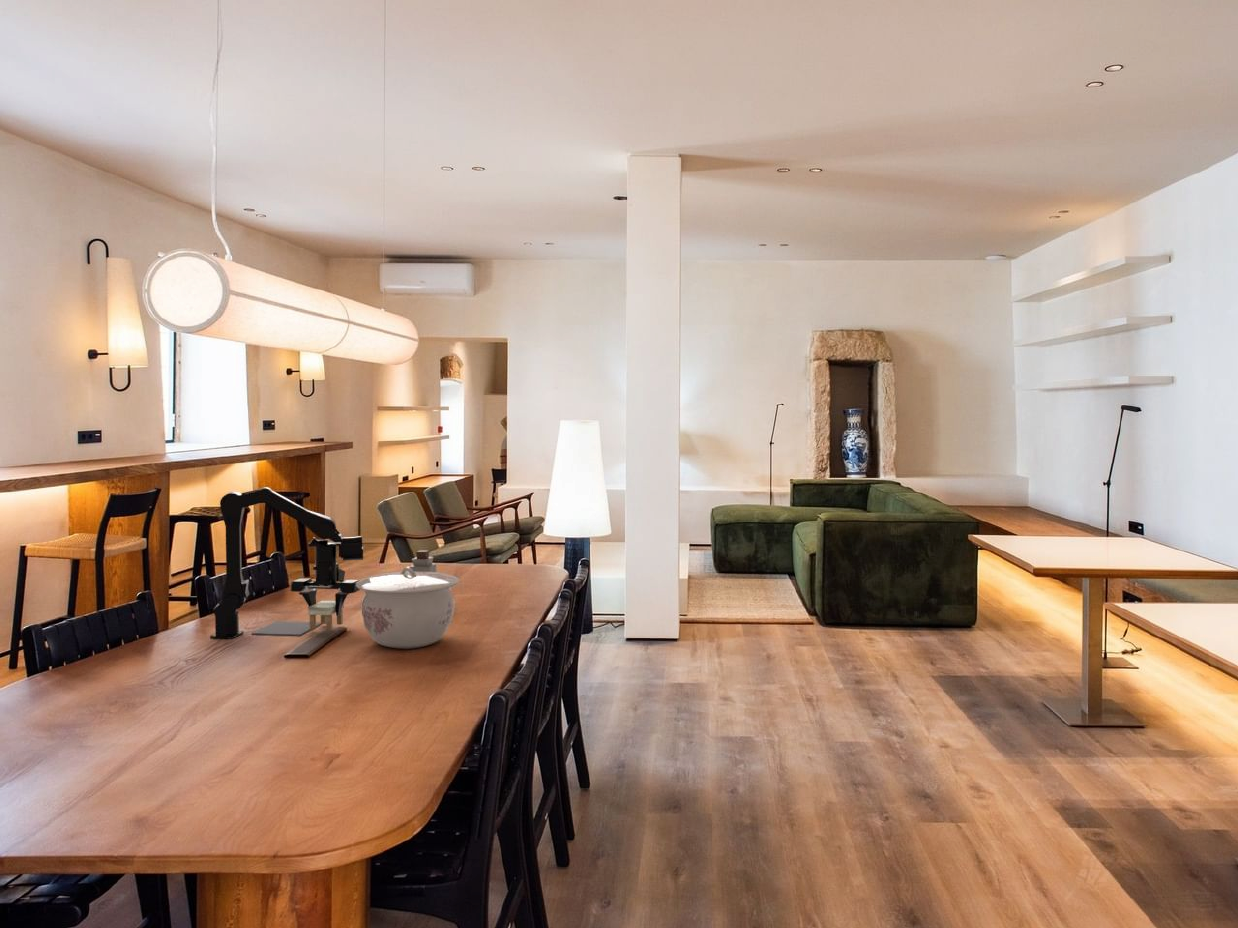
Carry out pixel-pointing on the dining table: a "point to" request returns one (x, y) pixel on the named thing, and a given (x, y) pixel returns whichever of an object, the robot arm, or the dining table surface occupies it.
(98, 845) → the dining table surface
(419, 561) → the perfume bottle
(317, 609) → the stool
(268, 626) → the felt pad
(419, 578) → the chamber pot
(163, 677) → the dining table surface
